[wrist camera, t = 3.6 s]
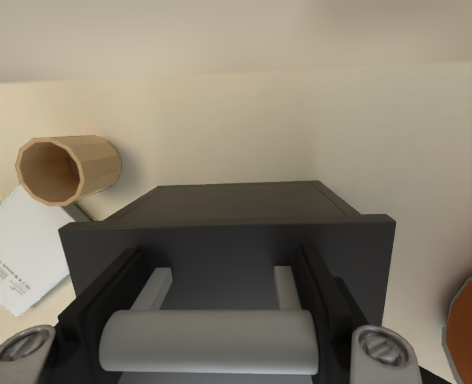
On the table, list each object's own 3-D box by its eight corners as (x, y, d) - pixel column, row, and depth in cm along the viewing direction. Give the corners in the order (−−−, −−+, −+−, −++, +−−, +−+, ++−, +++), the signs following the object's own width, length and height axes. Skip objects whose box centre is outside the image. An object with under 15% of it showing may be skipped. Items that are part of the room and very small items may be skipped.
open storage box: (157, 186, 22) (84, 231, 12) (318, 180, 21) (375, 224, 11) (176, 336, 26) (132, 459, 16) (313, 337, 25) (353, 469, 15)
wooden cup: (63, 136, 21) (7, 139, 16) (116, 134, 21) (75, 135, 16) (74, 190, 22) (25, 207, 17) (125, 188, 22) (89, 205, 17)
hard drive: (110, 237, 23) (29, 308, 26) (42, 169, 22) (-36, 250, 24) (99, 245, 22) (15, 319, 24) (26, 173, 20) (-55, 259, 23)
